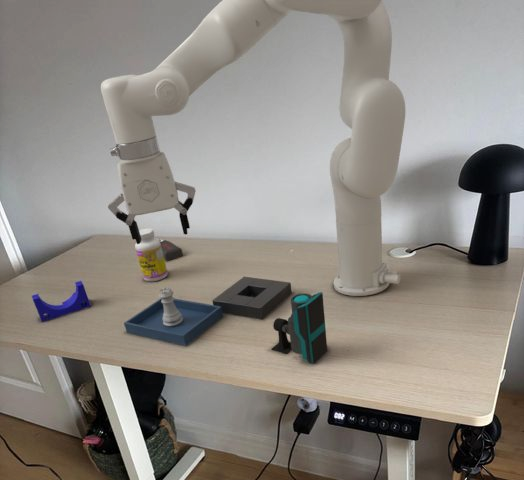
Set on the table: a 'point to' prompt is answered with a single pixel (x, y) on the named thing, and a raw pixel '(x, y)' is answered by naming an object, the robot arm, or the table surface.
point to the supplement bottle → (150, 256)
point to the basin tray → (191, 327)
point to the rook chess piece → (169, 308)
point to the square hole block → (258, 307)
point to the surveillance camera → (303, 328)
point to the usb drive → (170, 250)
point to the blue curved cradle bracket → (70, 305)
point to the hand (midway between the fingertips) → (162, 237)
